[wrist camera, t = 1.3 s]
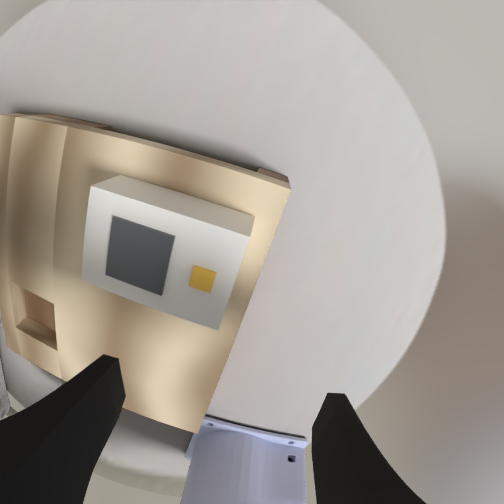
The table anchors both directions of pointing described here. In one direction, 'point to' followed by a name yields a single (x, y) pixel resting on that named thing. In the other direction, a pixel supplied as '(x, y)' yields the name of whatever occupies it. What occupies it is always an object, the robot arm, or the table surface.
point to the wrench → (3, 391)
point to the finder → (164, 248)
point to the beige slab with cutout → (100, 300)
